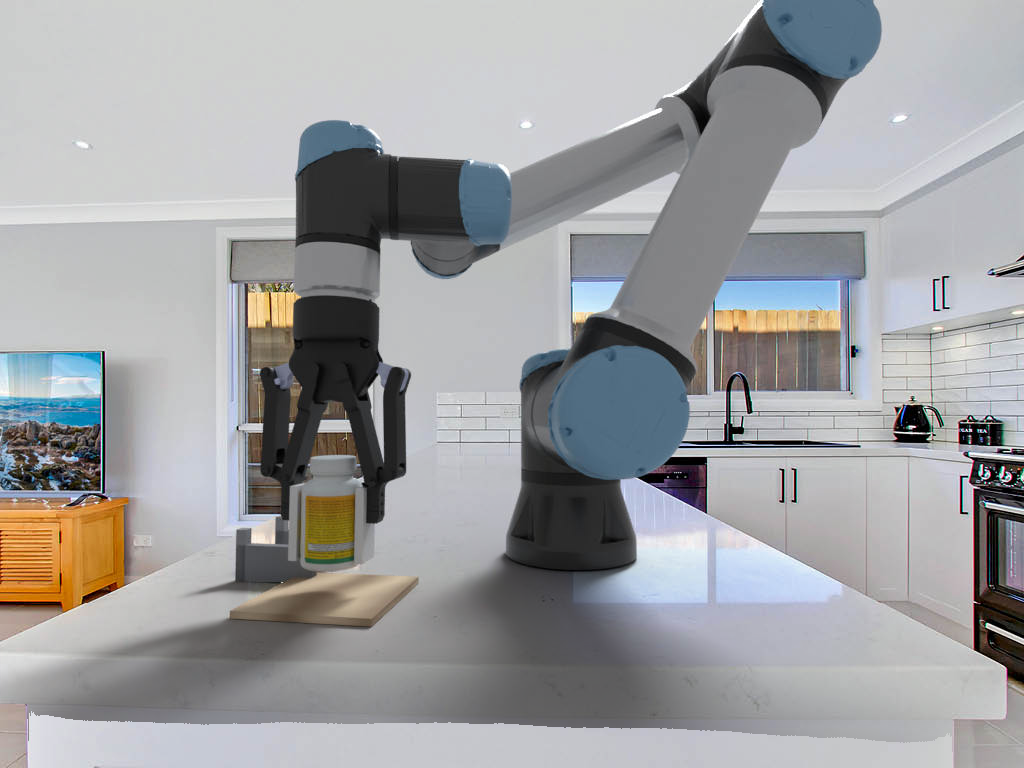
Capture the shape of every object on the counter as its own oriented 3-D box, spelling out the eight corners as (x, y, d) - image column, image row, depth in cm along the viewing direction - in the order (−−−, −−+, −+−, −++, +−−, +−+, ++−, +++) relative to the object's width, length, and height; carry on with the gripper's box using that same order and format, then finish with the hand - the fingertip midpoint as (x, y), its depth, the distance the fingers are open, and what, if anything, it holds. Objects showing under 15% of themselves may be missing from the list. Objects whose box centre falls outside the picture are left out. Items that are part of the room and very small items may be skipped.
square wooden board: (418, 583, 59) (418, 576, 59) (371, 626, 47) (371, 618, 47) (302, 577, 60) (302, 571, 60) (229, 618, 49) (229, 610, 49)
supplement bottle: (291, 563, 54) (292, 456, 55) (348, 554, 58) (349, 453, 58) (313, 576, 50) (315, 460, 50) (373, 566, 53) (374, 457, 54)
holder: (347, 563, 66) (347, 517, 66) (311, 584, 58) (312, 532, 58) (279, 560, 67) (280, 515, 68) (235, 580, 59) (236, 529, 60)
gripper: (446, 305, 57) (443, 553, 56) (266, 308, 60) (259, 545, 59) (423, 289, 50) (418, 575, 49) (218, 294, 53) (210, 564, 51)
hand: (331, 558), depth 54 cm, fingers closed on supplement bottle, 5 cm apart
